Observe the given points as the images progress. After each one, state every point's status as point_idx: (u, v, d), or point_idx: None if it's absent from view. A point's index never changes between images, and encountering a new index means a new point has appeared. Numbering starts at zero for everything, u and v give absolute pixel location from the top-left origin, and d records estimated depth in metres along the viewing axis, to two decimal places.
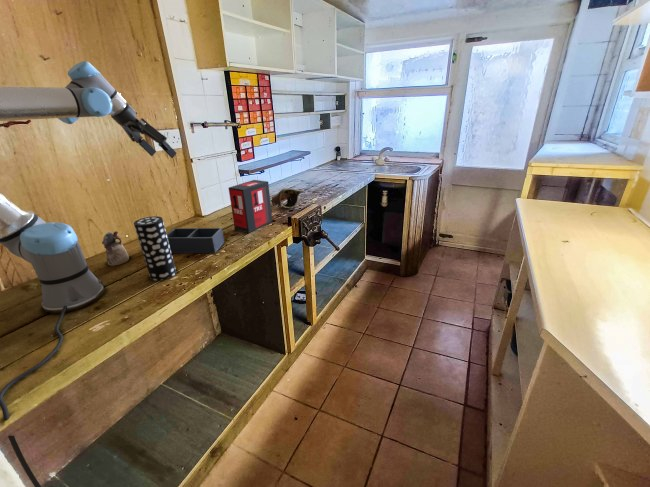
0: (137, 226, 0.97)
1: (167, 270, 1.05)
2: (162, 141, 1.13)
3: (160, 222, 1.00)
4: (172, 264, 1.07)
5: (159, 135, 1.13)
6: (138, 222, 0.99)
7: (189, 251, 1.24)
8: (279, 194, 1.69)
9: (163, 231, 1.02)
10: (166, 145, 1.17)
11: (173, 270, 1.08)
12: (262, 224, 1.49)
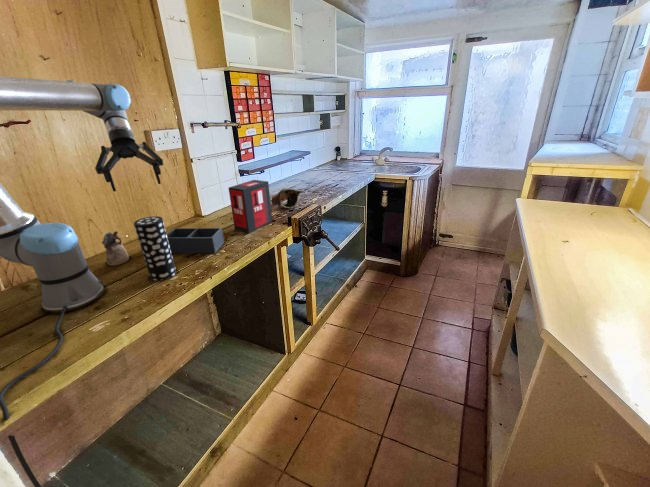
0: (137, 226, 0.97)
1: (167, 270, 1.05)
2: (162, 160, 1.11)
3: (160, 222, 1.00)
4: (172, 264, 1.07)
5: None
6: (138, 222, 0.99)
7: (189, 251, 1.24)
8: (279, 194, 1.69)
9: (163, 231, 1.02)
10: (159, 168, 1.10)
11: (173, 270, 1.08)
12: (262, 224, 1.49)
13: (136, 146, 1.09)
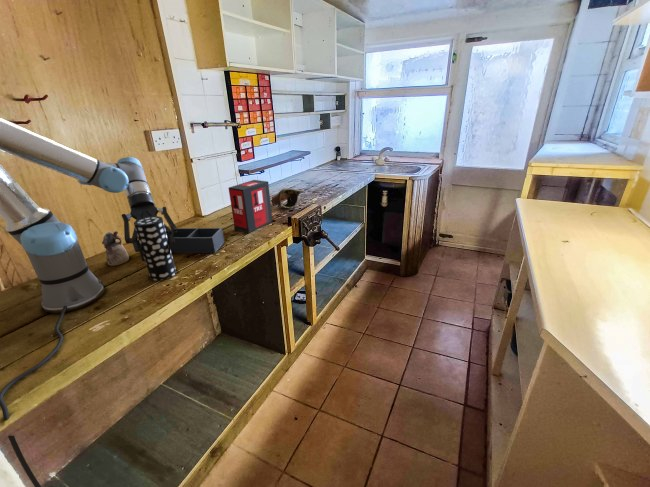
0: (137, 226, 0.97)
1: (167, 270, 1.05)
2: (176, 228, 1.08)
3: (160, 222, 1.00)
4: (172, 264, 1.07)
5: None
6: (138, 222, 0.99)
7: (189, 251, 1.24)
8: (279, 194, 1.69)
9: (163, 231, 1.02)
10: (173, 237, 1.07)
11: (173, 270, 1.08)
12: (262, 224, 1.49)
13: (155, 210, 1.08)
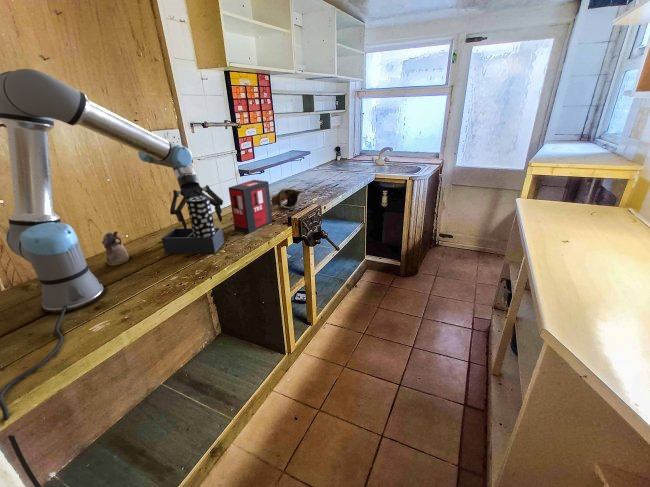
0: (189, 202, 1.17)
1: None
2: None
3: (207, 200, 1.20)
4: None
5: None
6: (189, 199, 1.19)
7: (189, 251, 1.24)
8: (279, 194, 1.69)
9: (209, 207, 1.21)
10: None
11: None
12: (262, 224, 1.49)
13: (201, 189, 1.27)
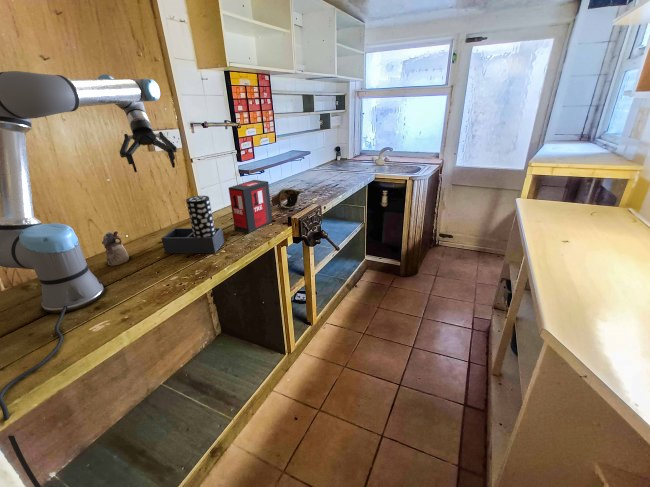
0: (189, 202, 1.17)
1: None
2: (176, 147, 1.28)
3: (207, 200, 1.20)
4: None
5: None
6: (189, 199, 1.19)
7: (189, 251, 1.24)
8: (279, 194, 1.69)
9: (209, 208, 1.21)
10: (173, 154, 1.27)
11: None
12: (262, 224, 1.49)
13: (154, 135, 1.27)
